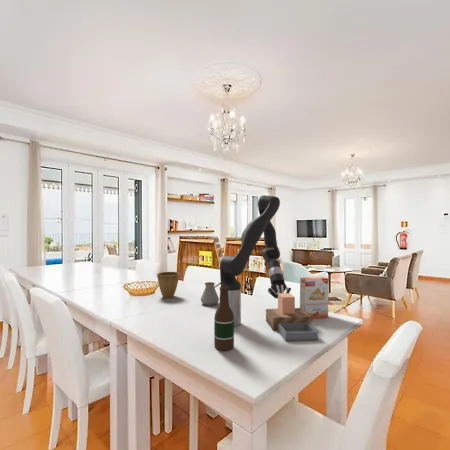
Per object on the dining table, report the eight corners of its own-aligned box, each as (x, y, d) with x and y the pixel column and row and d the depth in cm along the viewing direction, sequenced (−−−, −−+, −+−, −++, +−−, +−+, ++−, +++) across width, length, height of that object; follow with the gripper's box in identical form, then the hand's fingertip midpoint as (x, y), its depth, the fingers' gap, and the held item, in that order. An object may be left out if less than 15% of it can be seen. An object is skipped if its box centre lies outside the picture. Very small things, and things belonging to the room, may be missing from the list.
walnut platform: (273, 330, 131) (273, 317, 131) (265, 320, 145) (265, 309, 145) (310, 329, 133) (310, 316, 133) (300, 319, 147) (300, 308, 147)
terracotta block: (282, 314, 137) (282, 297, 137) (278, 309, 145) (278, 293, 145) (294, 313, 137) (294, 297, 137) (289, 308, 145) (289, 293, 145)
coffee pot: (206, 307, 169) (206, 282, 169) (197, 303, 178) (197, 279, 178) (235, 302, 181) (235, 278, 181) (225, 298, 191) (225, 276, 191)
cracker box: (305, 319, 147) (305, 279, 147) (299, 316, 152) (299, 277, 153) (329, 317, 150) (328, 277, 151) (322, 314, 156) (322, 276, 156)
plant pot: (155, 295, 198) (155, 272, 199) (175, 293, 205) (175, 271, 205) (159, 300, 185) (159, 275, 185) (181, 298, 191) (181, 274, 191)
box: (285, 341, 119) (285, 333, 119) (277, 331, 131) (277, 323, 131) (317, 340, 120) (317, 331, 120) (307, 330, 132) (307, 322, 132)
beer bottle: (233, 343, 117) (233, 284, 117) (234, 351, 109) (234, 288, 109) (214, 343, 117) (214, 284, 117) (214, 351, 109) (214, 288, 109)
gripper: (265, 272, 155) (271, 301, 143) (289, 272, 157) (297, 300, 144) (263, 280, 161) (268, 308, 148) (286, 280, 162) (293, 308, 150)
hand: (282, 304), depth 146 cm, fingers closed
